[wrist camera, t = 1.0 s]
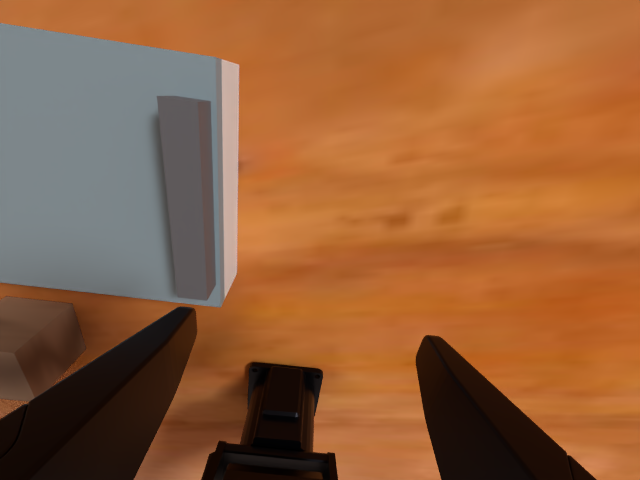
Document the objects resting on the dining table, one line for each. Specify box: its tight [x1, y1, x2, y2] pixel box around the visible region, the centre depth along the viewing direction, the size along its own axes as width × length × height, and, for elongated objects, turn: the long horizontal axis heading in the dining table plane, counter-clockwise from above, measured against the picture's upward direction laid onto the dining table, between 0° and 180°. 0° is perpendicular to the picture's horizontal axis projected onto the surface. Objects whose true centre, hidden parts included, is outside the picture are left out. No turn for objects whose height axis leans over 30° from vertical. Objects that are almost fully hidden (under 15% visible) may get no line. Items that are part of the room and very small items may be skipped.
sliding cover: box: [0, 23, 225, 307], centre depth 14 cm, size 13×15×2 cm
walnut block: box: [0, 296, 86, 401], centre depth 22 cm, size 5×5×5 cm
